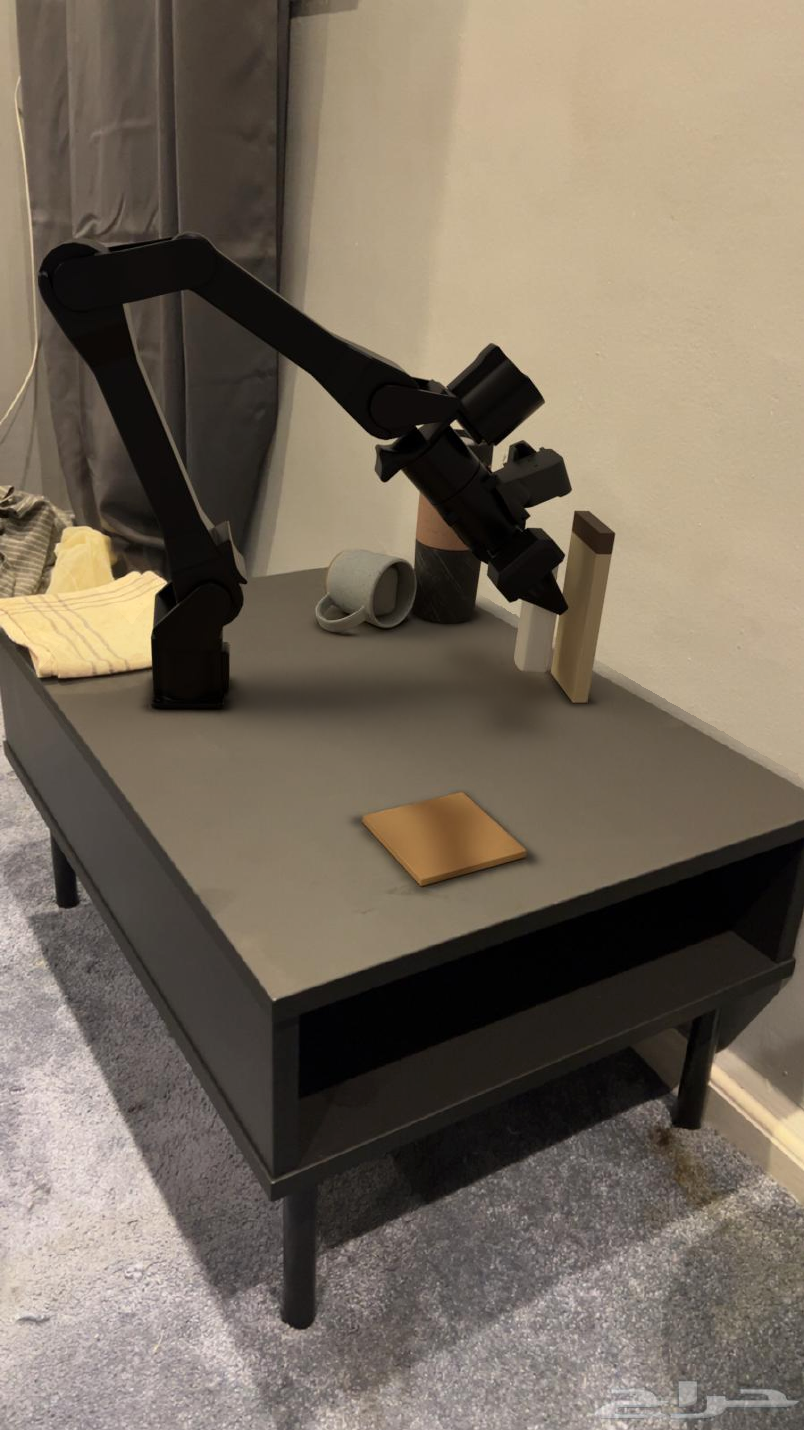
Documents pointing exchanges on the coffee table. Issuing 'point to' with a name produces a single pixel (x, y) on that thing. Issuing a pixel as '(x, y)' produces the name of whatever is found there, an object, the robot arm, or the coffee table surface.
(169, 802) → the coffee table surface
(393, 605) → the ceramic mug
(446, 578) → the travel mug
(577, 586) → the tall wooden plank
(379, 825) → the cork coaster mat
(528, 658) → the eye dropper bottle
